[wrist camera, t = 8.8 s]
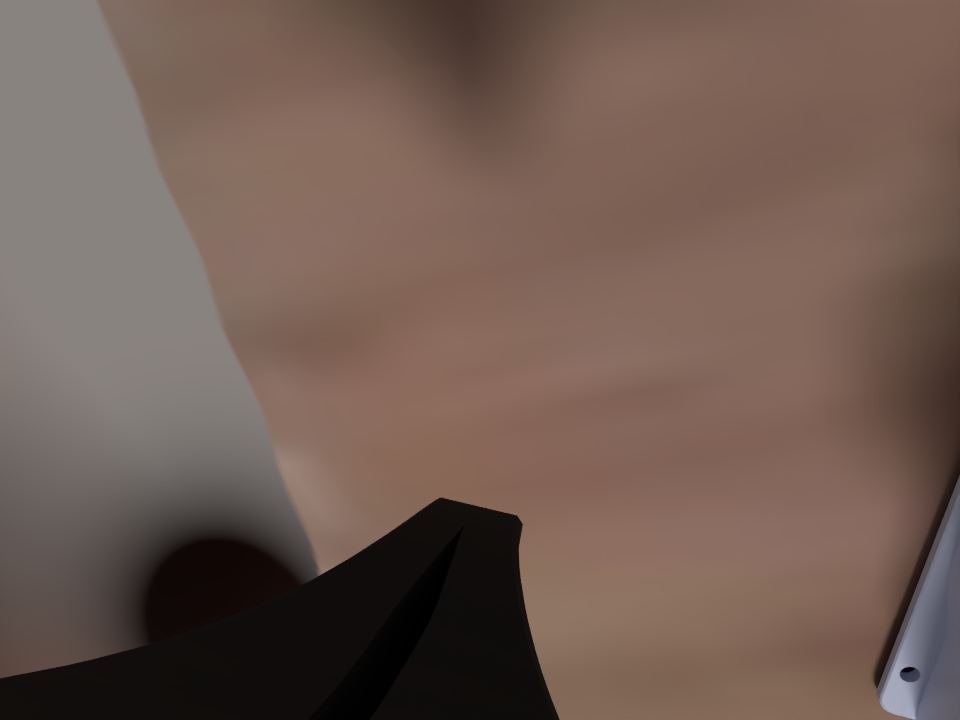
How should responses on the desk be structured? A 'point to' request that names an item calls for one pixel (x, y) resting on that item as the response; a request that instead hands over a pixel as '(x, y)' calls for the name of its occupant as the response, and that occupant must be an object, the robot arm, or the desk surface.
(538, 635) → the desk surface
